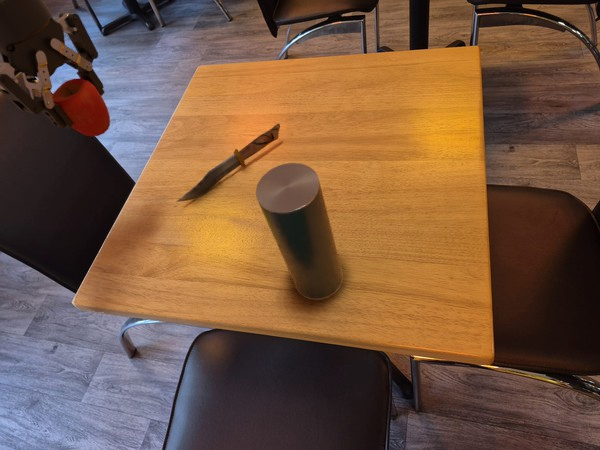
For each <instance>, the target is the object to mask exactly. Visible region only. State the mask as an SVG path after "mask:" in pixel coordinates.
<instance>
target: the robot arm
mask: <svg viewBox="0 0 600 450" xmlns="http://www.w3.org/2000/svg"><path fill="white" fill-rule="evenodd" d="M65 34H66V35H67V36H68V38H69V40H70V41H71V43H72V45H73V47H74V48H75V50H76V51H75V50H74V49H72V48H71V47H69V46H67V45H66V42H65V41H66V40H65ZM0 56H1V58H2V59H1V60H2V62H3V64H2V65H1V66H0V93H1V94H2V95H3V96H5V98H7V100H9V101H10V102H11V103H12V104H13V105H14V106H15V107H17V109H19V110H20V111H21V112H23V113H29V114H33V115H39V114H41V113H43V115H45V116H46V118H47V119H48V120H49V121H50V123H51V124H52V125H53V126H54V127H57V128H61V129H62V128H63V129H66V130H70V129H72V126H73V123H72V122H71V121H70V119H69V118H68V117H67V116H66V114H65V113H64V112H63V111H62V109H61V108H60V107H59V106H58V104H54V101H53V97H52V94H53V93H52V89H53V84H52V80H51V77H52V76H53V75H54V74H55V72H56V71H57V69H59V68H61V67H63V66H64V65H68V66H69V67H71V68H72V69H74V70H77V72H76V74H77V76H78V78H82V79H85V80H88V81H89V82H91V83H92V84H93V85H94V86H95V87H96V89H97V90H98V92H99V94H100V95H101V97H102V96H103V95H104V94H105V90H104V84H103V82H102V80H101V78H100V77H99V76H98V74H97V73H96V71H95V70H94V69H93V67H94V66H93V62H94V60H96V59H98V57H99V52H98V50H97V48H96V47H95V45H94V42H93V40H92V39H91V36H90V34H89V33H88V31H87V29H86V27H85V25H84V23H83V21H82V19H81V17H80V15H79V14H78V13H74V12H73V13H72V12H60V13H59V14H58V18H57V19H55V18H54V17H52V13H51V11H50V9H49V8H48V6H47V5H46V3H45V1H44V0H0ZM15 71H16V72H20V73H21V75H22V79H23V83H24V85H25V87H26V88H27V89H28V91H29V94H30V95H29V94H28V93H27V92H26V91H25V90H24V89H23V88H22V87H21V86H20V85H19V84H18V83H19V80H18V78H17V77H16V74H15Z"/></svg>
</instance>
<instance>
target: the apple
mask: <svg viewBox="0 0 600 450" xmlns="http://www.w3.org/2000/svg"><path fill="white" fill-rule="evenodd" d="M52 97H53V101H54V104H58V106H59V107H60V108H61V109H62V111H63V112H64V113H65V114H66V116H67V117H68V118H69V119H70V121H71V122H72V123H73V126H72V127H71V129H73V130H75V131H77V132H78V133H80V134H81V135H84V136H87V137H100V136H101V135H103V134H105V133H107V131H108V130H109V128H110V126H111V116H110V112H109V109H108V107H107V104H106V102H105V100H104V98H103V97H102V96H101V95H100V94H99V92H98V90H97V89H96V87H95V86H94V85H93V84H92V83H91V82H89V81H88V80H85V79H82V78H80V77H78V78H71V79H69V80H66V81H64V82H63V83H62V84H61V85H60V86H59V87H57V89H55V91H53V93H52Z"/></svg>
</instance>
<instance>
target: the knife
mask: <svg viewBox="0 0 600 450" xmlns="http://www.w3.org/2000/svg"><path fill="white" fill-rule="evenodd" d="M280 128H281V124H280V123H276V124H275V125H274V126H273V127H271V128H270V129H269V130H267V131H265V132H263V133H262V134H260V135H258V136H257V137H256V138H255V139H253V140H252V141H250V142H249V143H248V144H247V145H245V146H244V147H243V148H241V150H239V149H238V148H235V149H234V151H233V154H232V155H231V156H229V157H228V158H226V159H224V160H223V161H222V162H220V163H219V164H217V165H216V166H215V167H213V168H212V169H210V170H209V171H207V173H206V174H205V175H204V176H203V177H202V179H201V180H200V181H199V182H198V183H197V184H196V185H195V186H194V187H192V188H191V189H190V190H188V192H186V193H185V194H183V195H182V196H181V197H179V198H178V199H177V200H176V201H175V202H176V203H177V202H178V203H179V202H187V201H192V200H195V199H197V198H200V197H202V196H205V194H207V193H208V192H210V191H211V190H212V189H213V188H214V187H215V186H216V185H217V184H218V183H219V182H220V181H222V179H224V178H225V177H226V176H227V175H229V174H230V173H232V172H233V171H235V170H236V169H237V168H239V167H240V166H241V167H243V168H244V167H246V164H245V163H246V160H248V159H249V158H251V157H252V156H254V155H256V154H257V153H259V152H260V151H262V150H263V149H264V148H266V147H267V146H268V145H270V144H271V143H272V142H275V141H277V140H278V139H279V134H280Z"/></svg>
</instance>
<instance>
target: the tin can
mask: <svg viewBox="0 0 600 450" xmlns="http://www.w3.org/2000/svg"><path fill="white" fill-rule="evenodd" d="M255 196H256V200H257V202H258V204H259V206H260V209H261V211H262V213H263V214H262V215H264V218H265V220H266V223H267V225H268V227H269V230H270V232H271V233H272V236H273V238H274V241H275V243H276V245H277V247H278V250H279V252H280V254H281V256H282V259H283V262H284V263H285V265H286V268H287V270H288V272H289V274H290V277H291V279H292V281H293V284H294V286H295V289H296V291H297V292H298V293H299V294H300V295H301V296H302V297H303V298H305V299H308V300H312V301H321V300H326V299H328V298H330V297H332V296H334V295H335V294H336V293H337V292H338V291H339V290H340V288H341V286H342V285H343V281H344V272H343V268H342V265H341V262H340V257H339V254H338V250H337V245H336V241H335V238H334V235H333V230H332V225H331V222H330V218H329V214H328V210H327V205H326V201H325V199H324V194H323V190H322V185H321V182H320V177H319V175H318V173H317V172H316V171H315V170H314V169H313V168H312V167H311V166H309V165H307V164H304V163H301V162H300V163H299V162H287V163H282V164H279V165H276V166H274V167H272V168H271V169H269V170H267V172H265V173H264V174H263V175H262V176H261V177H260V179H259V181H258V182H257V185H256V188H255Z"/></svg>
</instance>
